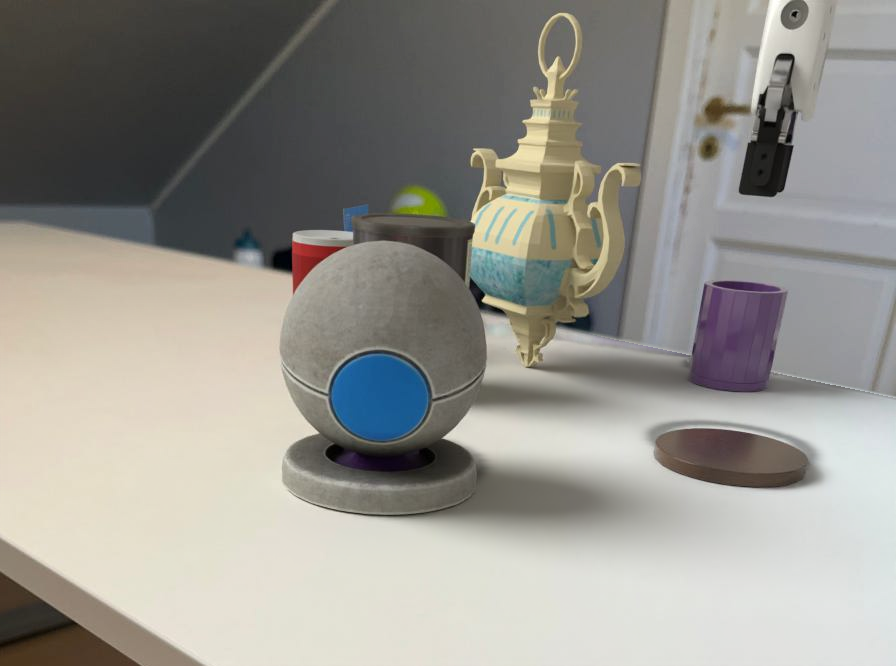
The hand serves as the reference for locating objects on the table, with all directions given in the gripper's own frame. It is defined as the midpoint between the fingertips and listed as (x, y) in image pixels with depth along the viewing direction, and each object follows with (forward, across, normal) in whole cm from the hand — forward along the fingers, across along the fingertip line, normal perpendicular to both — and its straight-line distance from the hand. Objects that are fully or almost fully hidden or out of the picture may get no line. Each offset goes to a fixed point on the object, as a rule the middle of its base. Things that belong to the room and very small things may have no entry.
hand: (761, 193), depth 88 cm
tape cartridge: (+18, +7, +42) cm, 46 cm away
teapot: (+17, -5, +19) cm, 26 cm away
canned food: (+18, -9, +38) cm, 43 cm away
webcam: (+18, -44, +18) cm, 50 cm away
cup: (+17, 0, 0) cm, 17 cm away
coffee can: (+18, -20, +26) cm, 37 cm away
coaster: (+17, -27, -3) cm, 32 cm away
